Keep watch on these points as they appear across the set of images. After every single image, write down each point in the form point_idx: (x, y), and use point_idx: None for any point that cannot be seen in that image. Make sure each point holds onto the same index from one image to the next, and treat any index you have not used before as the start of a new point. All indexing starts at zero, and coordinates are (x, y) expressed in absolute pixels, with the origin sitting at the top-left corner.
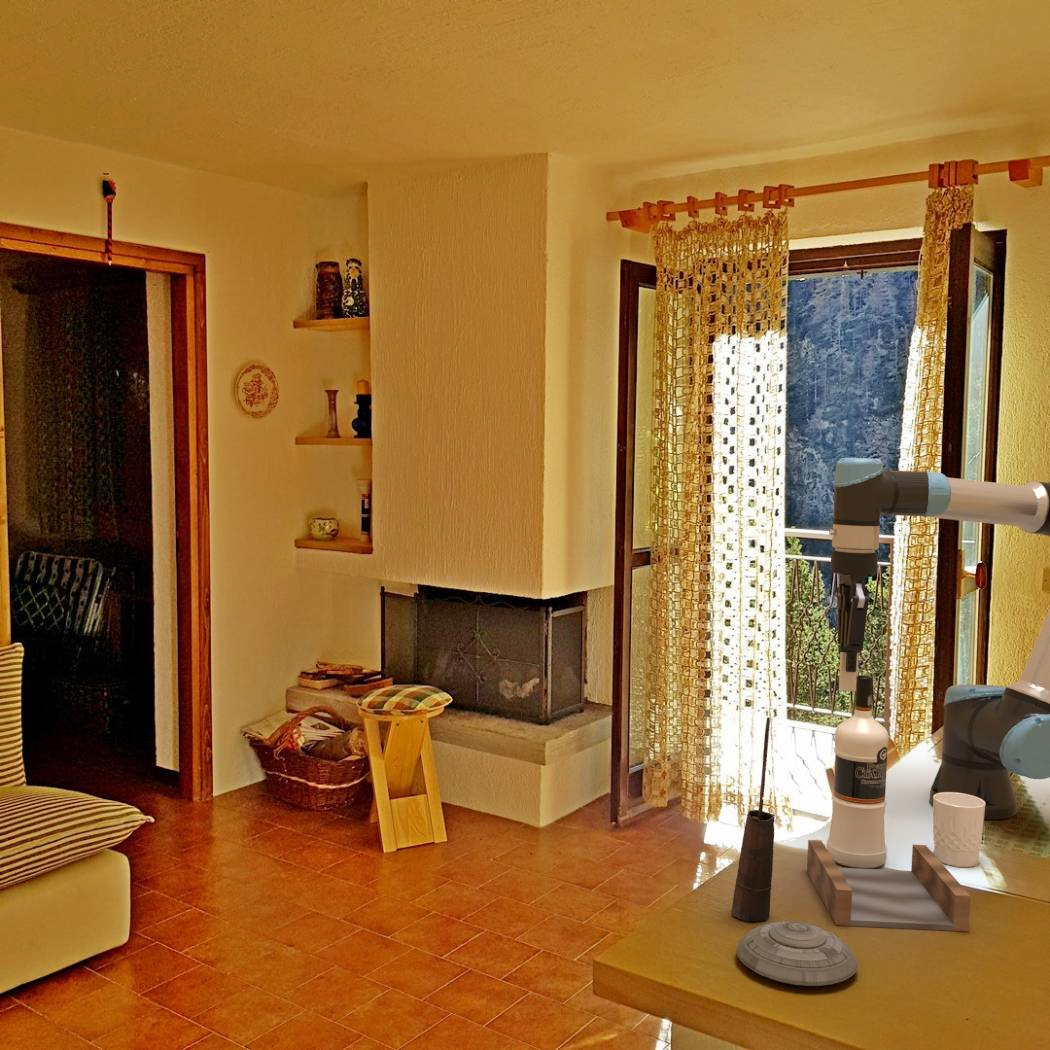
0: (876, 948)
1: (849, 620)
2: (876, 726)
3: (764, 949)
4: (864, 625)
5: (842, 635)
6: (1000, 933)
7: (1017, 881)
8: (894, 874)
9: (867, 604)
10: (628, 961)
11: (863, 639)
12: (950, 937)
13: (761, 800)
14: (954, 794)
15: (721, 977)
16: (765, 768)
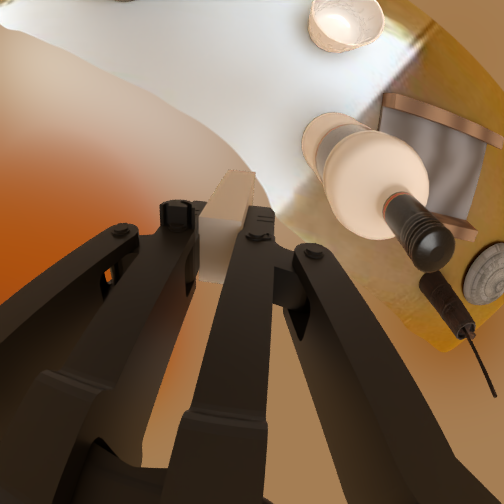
0: (490, 215)
1: (327, 429)
2: (419, 181)
3: (494, 300)
4: (394, 357)
5: (181, 322)
6: (489, 107)
7: (391, 7)
8: (392, 130)
9: (480, 494)
10: (450, 345)
11: (353, 286)
12: (490, 152)
13: (470, 339)
14: (314, 3)
15: (481, 310)
16: (480, 359)
